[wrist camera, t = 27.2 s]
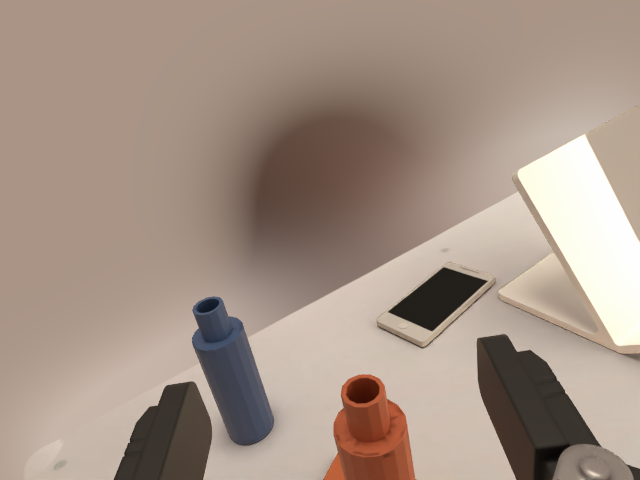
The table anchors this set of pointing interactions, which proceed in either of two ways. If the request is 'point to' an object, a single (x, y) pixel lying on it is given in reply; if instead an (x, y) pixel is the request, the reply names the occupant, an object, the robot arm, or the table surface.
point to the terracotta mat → (335, 470)
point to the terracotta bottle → (372, 433)
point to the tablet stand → (587, 235)
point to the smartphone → (435, 303)
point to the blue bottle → (231, 372)
